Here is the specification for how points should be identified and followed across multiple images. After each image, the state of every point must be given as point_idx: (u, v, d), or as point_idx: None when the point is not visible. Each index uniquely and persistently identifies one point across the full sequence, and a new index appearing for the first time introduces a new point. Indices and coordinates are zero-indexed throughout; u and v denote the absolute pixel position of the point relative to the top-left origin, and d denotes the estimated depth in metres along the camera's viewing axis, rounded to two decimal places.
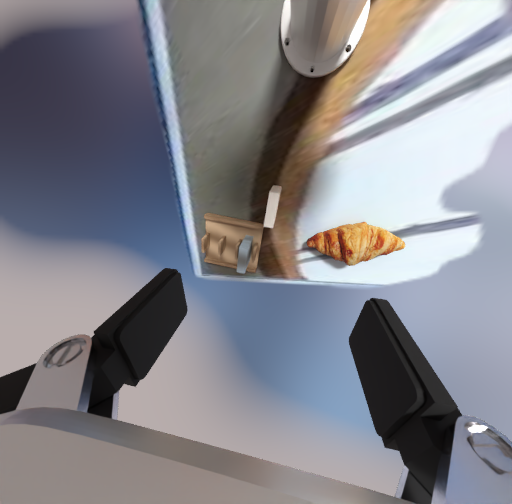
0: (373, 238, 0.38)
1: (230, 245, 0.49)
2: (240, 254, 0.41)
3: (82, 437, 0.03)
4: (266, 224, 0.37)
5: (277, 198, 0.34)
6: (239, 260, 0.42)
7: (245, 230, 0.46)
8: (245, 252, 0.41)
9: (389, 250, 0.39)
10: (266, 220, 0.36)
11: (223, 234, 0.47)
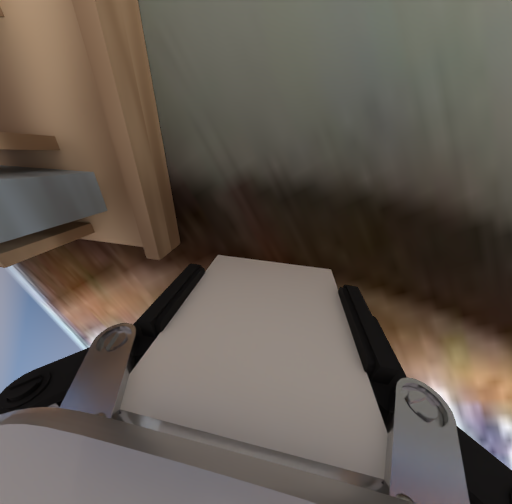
0: None
1: None
2: None
3: (82, 437, 0.03)
4: (131, 421, 0.05)
5: None
6: None
7: (111, 166, 0.09)
8: None
9: None
10: (159, 425, 0.05)
11: None
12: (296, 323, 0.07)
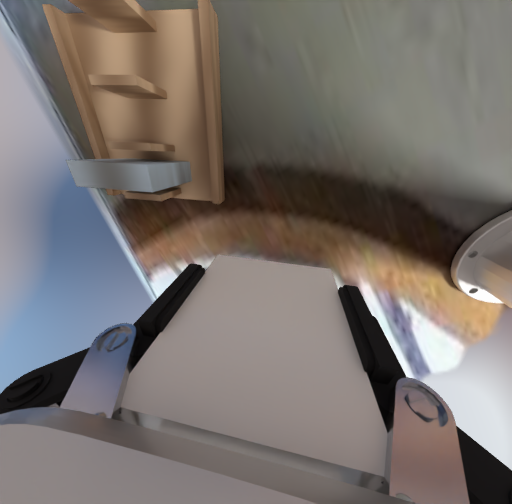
0: None
1: (146, 116, 0.18)
2: (127, 170, 0.14)
3: (81, 437, 0.03)
4: (132, 418, 0.05)
5: None
6: (107, 168, 0.14)
7: (199, 159, 0.19)
8: (140, 186, 0.14)
9: None
10: (160, 423, 0.05)
11: (168, 89, 0.17)
12: (296, 322, 0.07)
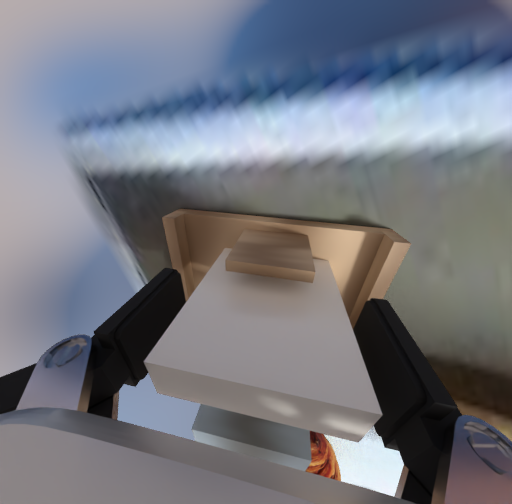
0: None
1: None
2: (277, 455, 0.10)
3: (82, 437, 0.03)
4: (162, 376, 0.06)
5: (327, 430, 0.06)
6: (249, 447, 0.10)
7: None
8: (289, 464, 0.11)
9: None
10: (186, 378, 0.06)
11: None
12: (297, 303, 0.08)
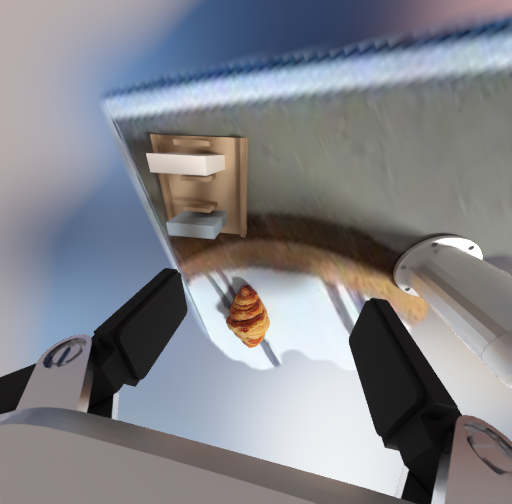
0: (258, 336, 0.42)
1: (201, 186, 0.30)
2: (201, 228, 0.26)
3: (82, 437, 0.03)
4: (151, 159, 0.21)
5: (198, 172, 0.21)
6: (189, 227, 0.26)
7: (233, 210, 0.31)
8: (207, 235, 0.26)
9: (247, 344, 0.45)
10: (158, 157, 0.21)
11: (217, 173, 0.28)
12: (199, 154, 0.23)
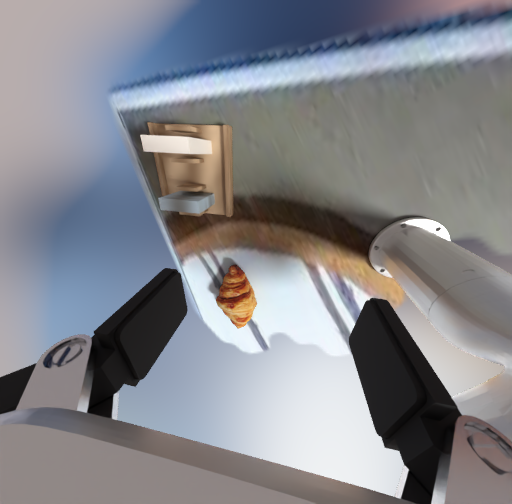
0: (245, 315, 0.45)
1: (192, 170, 0.34)
2: (187, 203, 0.29)
3: (82, 437, 0.03)
4: (144, 140, 0.25)
5: (182, 151, 0.25)
6: (178, 202, 0.29)
7: (219, 192, 0.35)
8: (193, 210, 0.30)
9: (235, 323, 0.48)
10: (150, 138, 0.25)
11: (205, 158, 0.32)
12: None
